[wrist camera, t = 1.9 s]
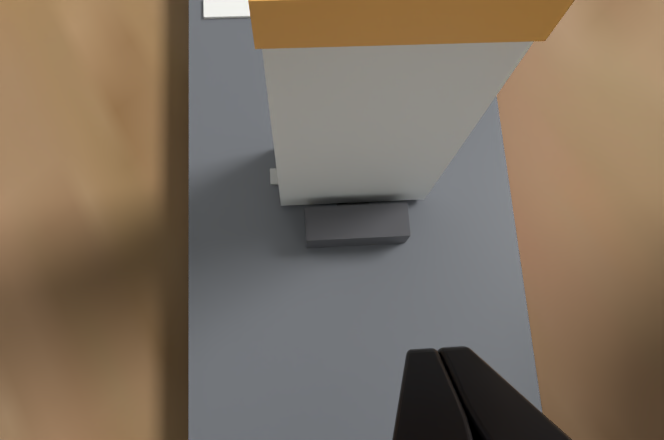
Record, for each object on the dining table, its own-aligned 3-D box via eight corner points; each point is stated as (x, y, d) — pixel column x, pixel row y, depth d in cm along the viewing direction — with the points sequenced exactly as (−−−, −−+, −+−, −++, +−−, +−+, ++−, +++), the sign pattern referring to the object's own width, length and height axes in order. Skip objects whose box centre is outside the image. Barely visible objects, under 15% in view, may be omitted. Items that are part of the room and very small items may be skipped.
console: (532, 430, 18) (560, 436, 16) (195, 454, 17) (181, 463, 15) (461, -73, 22) (476, -116, 20) (194, -70, 22) (183, -113, 20)
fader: (427, 202, 18) (579, -7, 8) (277, 209, 18) (248, 0, 8) (420, 135, 19) (554, -135, 9) (274, 141, 18) (244, -132, 8)
